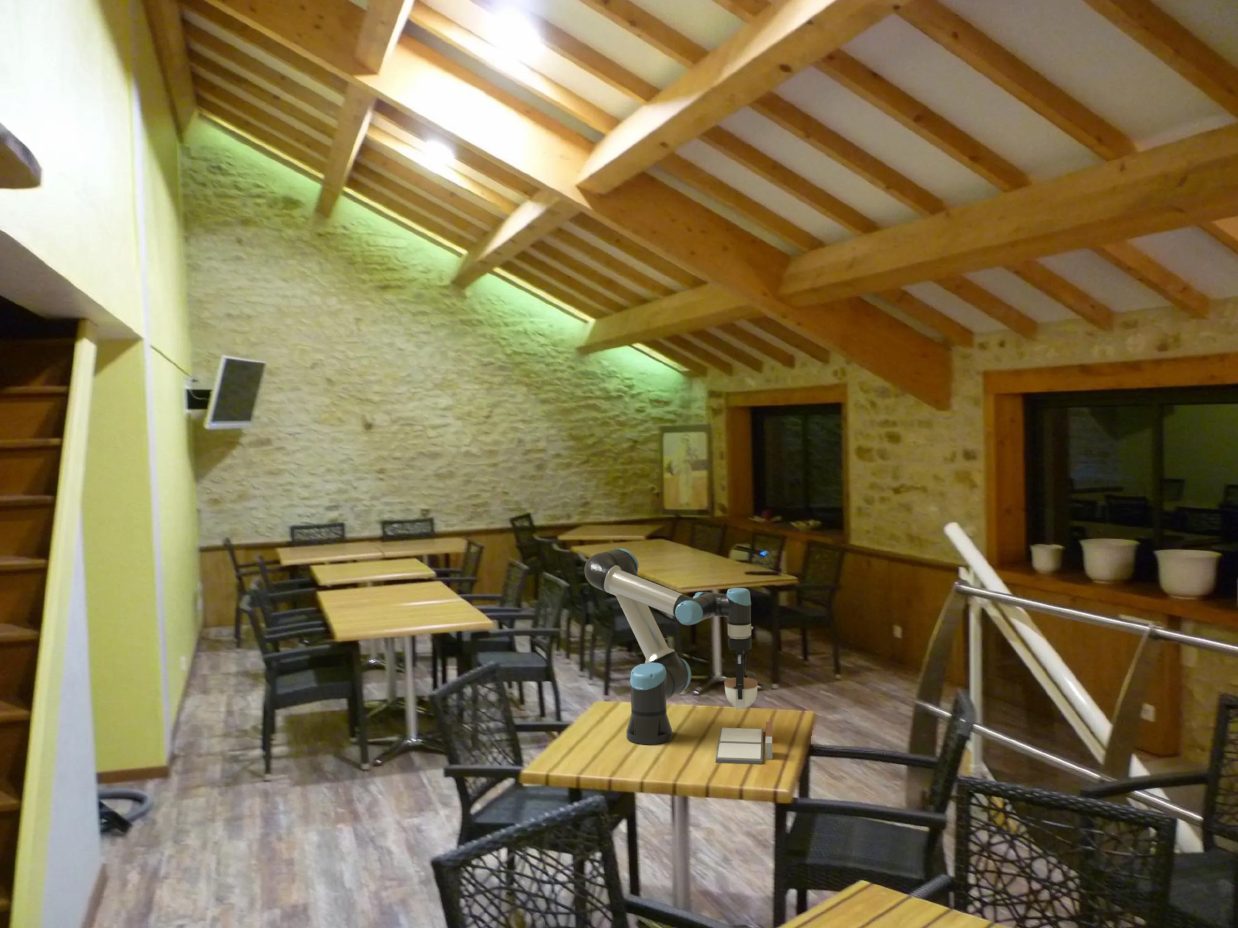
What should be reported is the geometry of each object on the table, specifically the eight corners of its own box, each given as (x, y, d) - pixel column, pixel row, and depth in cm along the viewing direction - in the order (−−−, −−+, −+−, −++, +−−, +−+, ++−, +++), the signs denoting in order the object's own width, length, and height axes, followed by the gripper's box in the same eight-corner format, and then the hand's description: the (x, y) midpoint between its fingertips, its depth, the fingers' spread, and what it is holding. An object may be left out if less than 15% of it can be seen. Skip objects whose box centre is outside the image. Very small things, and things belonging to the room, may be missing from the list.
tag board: (715, 762, 289) (715, 746, 289) (721, 730, 319) (720, 715, 319) (772, 764, 286) (772, 747, 286) (772, 732, 316) (772, 717, 316)
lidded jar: (720, 708, 307) (720, 679, 306) (729, 698, 317) (729, 671, 316) (753, 711, 303) (752, 681, 302) (761, 701, 313) (761, 673, 312)
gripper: (750, 644, 297) (751, 714, 298) (752, 628, 320) (753, 693, 320) (726, 644, 298) (727, 713, 299) (729, 628, 321) (731, 693, 322)
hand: (741, 703), depth 310 cm, fingers closed on lidded jar, 11 cm apart
